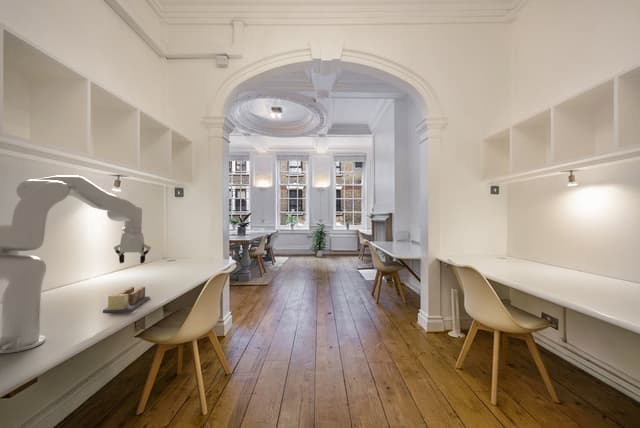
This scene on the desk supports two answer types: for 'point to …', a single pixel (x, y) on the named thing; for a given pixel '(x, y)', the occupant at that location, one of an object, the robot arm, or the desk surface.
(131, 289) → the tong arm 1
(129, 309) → the tong mat
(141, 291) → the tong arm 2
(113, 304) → the tan block
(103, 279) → the desk surface
